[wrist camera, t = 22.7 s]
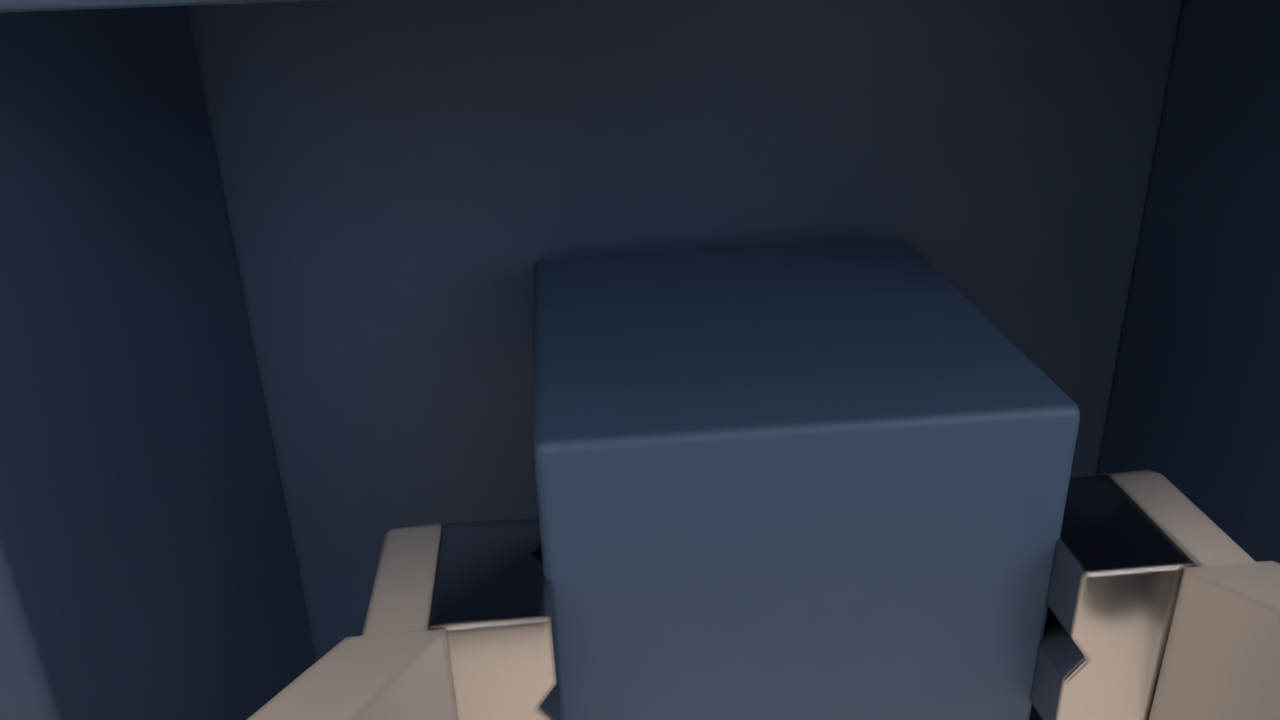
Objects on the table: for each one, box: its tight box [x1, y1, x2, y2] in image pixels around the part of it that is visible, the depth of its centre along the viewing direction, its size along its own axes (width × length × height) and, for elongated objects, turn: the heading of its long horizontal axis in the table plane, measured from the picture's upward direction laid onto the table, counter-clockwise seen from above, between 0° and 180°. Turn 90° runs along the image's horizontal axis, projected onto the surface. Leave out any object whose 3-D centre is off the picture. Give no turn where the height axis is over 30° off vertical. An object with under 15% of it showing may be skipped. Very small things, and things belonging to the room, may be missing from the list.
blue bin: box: [0, 0, 1280, 720], centre depth 11 cm, size 13×13×7 cm
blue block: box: [533, 240, 1080, 720], centre depth 11 cm, size 4×4×4 cm
